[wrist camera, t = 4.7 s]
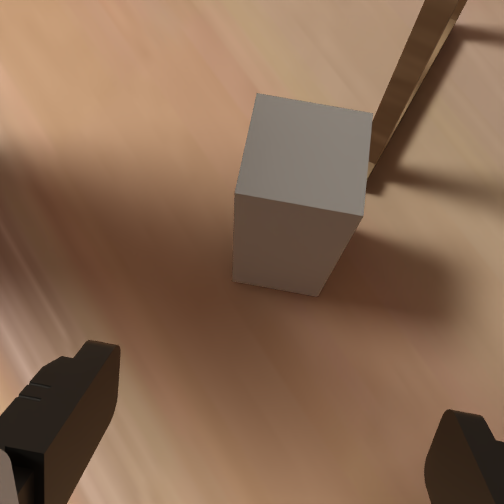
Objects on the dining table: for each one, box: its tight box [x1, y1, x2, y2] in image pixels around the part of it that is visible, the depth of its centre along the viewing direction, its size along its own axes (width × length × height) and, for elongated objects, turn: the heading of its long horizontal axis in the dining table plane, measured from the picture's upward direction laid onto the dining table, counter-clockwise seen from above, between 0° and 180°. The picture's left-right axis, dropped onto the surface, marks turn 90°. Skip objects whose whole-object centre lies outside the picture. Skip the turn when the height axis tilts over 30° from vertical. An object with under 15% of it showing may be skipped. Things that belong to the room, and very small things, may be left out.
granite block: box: [232, 93, 373, 297], centre depth 24 cm, size 5×5×10 cm
